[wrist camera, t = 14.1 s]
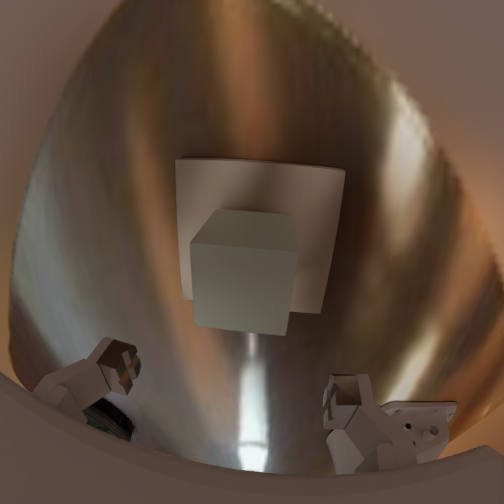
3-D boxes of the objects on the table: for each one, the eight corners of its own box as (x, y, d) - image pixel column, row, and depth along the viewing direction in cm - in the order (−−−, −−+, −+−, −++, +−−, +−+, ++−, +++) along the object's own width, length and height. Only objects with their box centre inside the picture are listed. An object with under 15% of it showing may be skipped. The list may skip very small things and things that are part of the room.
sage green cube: (294, 215, 19) (298, 252, 13) (286, 283, 21) (285, 335, 16) (216, 208, 19) (189, 242, 14) (216, 276, 22) (195, 325, 16)
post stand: (342, 168, 19) (370, 191, 12) (319, 305, 24) (326, 365, 18) (181, 157, 20) (134, 174, 13) (187, 291, 25) (158, 345, 19)
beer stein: (133, 410, 38) (83, 529, 15) (137, 445, 46) (104, 532, 24) (55, 369, 37) (-7, 467, 15) (74, 414, 46) (34, 491, 23)
